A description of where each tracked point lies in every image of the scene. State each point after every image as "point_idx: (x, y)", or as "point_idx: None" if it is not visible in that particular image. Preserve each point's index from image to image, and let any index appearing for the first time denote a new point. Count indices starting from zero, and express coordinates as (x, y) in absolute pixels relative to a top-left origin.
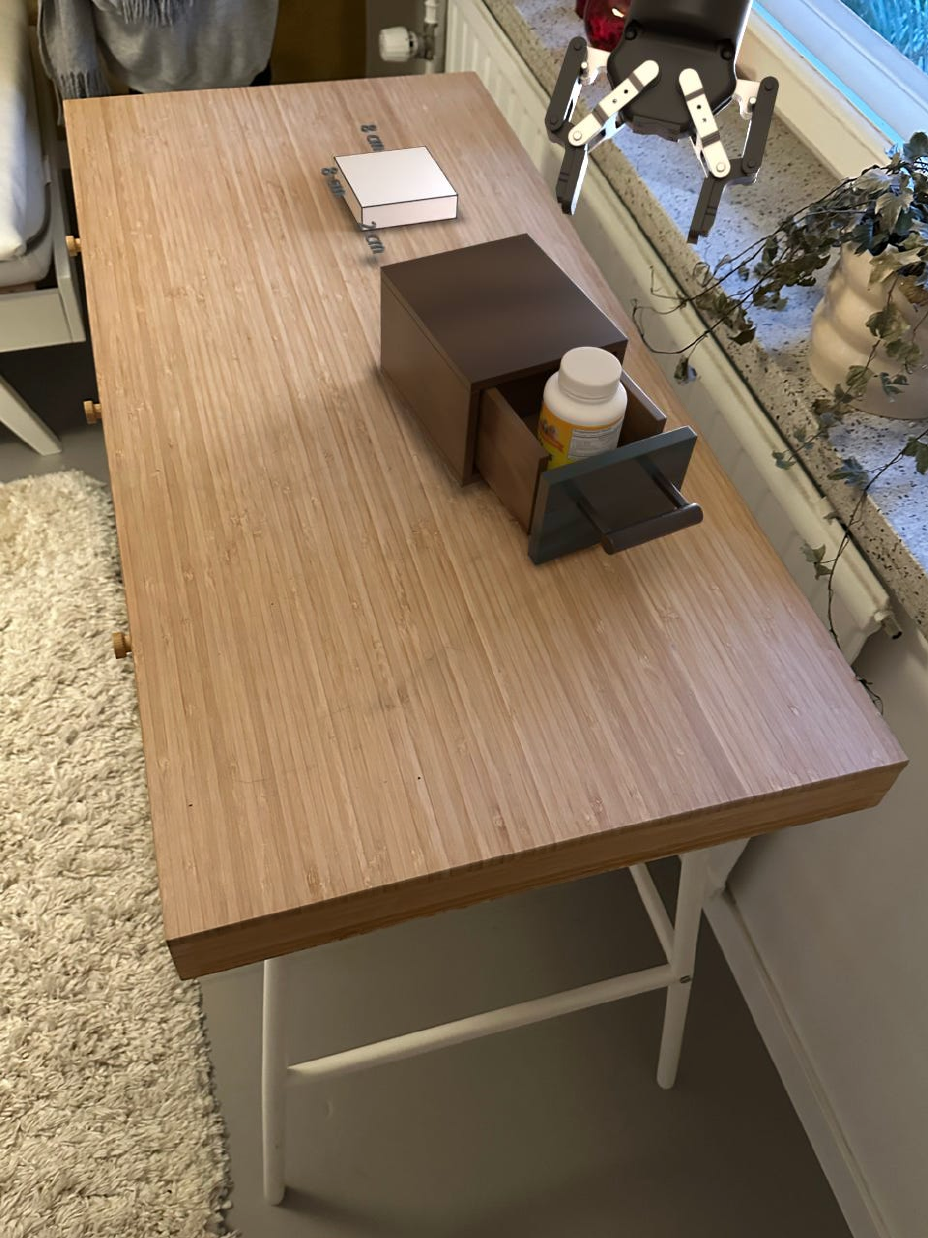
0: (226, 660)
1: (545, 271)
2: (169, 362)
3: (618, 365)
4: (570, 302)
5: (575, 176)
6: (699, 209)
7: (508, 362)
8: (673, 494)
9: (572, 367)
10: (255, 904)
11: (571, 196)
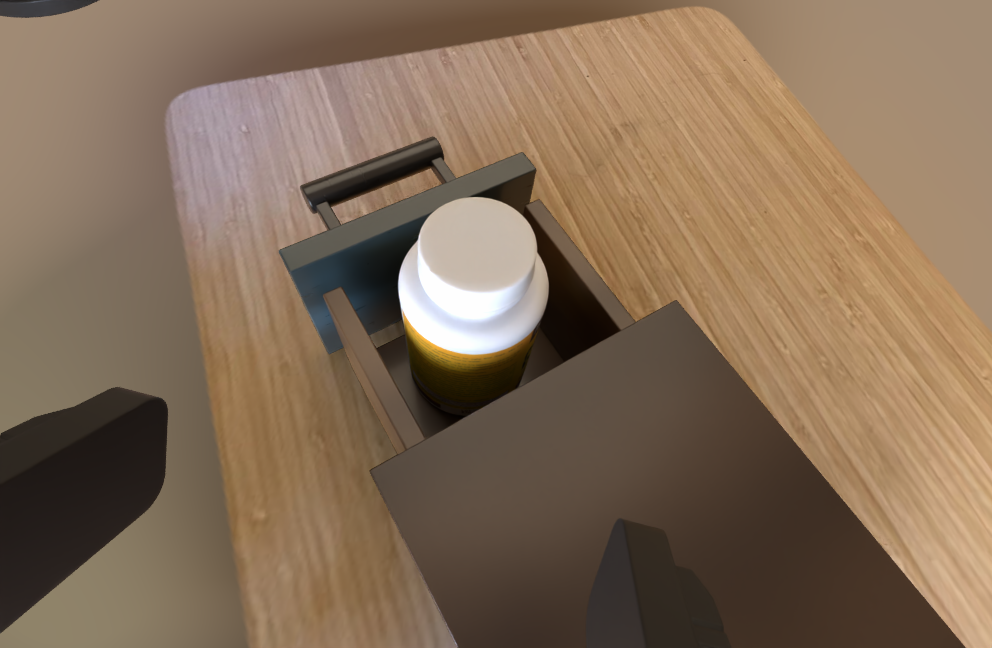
0: (777, 158)
1: None
2: None
3: (423, 245)
4: (503, 606)
5: (654, 595)
6: (69, 432)
7: (621, 361)
8: (335, 217)
9: (515, 234)
10: (674, 12)
11: (634, 534)
